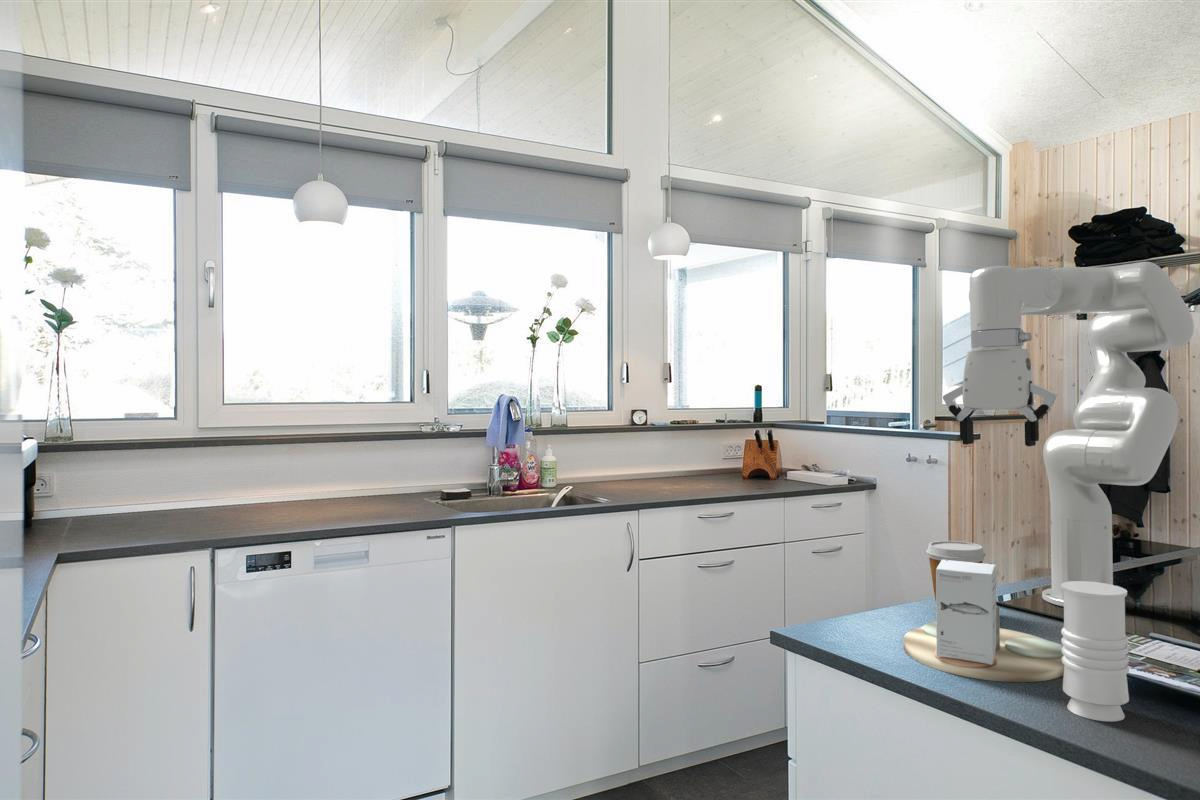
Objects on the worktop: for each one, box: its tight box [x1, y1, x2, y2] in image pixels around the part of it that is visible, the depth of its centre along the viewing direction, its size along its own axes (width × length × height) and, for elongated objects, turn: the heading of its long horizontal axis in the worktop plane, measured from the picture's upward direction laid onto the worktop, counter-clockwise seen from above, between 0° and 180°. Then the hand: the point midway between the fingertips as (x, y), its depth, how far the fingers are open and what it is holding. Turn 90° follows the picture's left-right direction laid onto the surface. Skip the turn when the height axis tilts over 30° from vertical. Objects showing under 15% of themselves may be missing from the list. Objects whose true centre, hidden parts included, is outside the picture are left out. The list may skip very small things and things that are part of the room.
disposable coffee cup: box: [925, 540, 987, 602], centre depth 134 cm, size 10×10×12 cm
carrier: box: [903, 604, 1064, 683], centre depth 113 cm, size 22×22×8 cm
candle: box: [1060, 581, 1130, 722], centre depth 93 cm, size 7×7×15 cm
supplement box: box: [935, 560, 998, 665], centre depth 109 cm, size 7×7×13 cm
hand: (998, 444), depth 127 cm, fingers open, 9 cm apart
